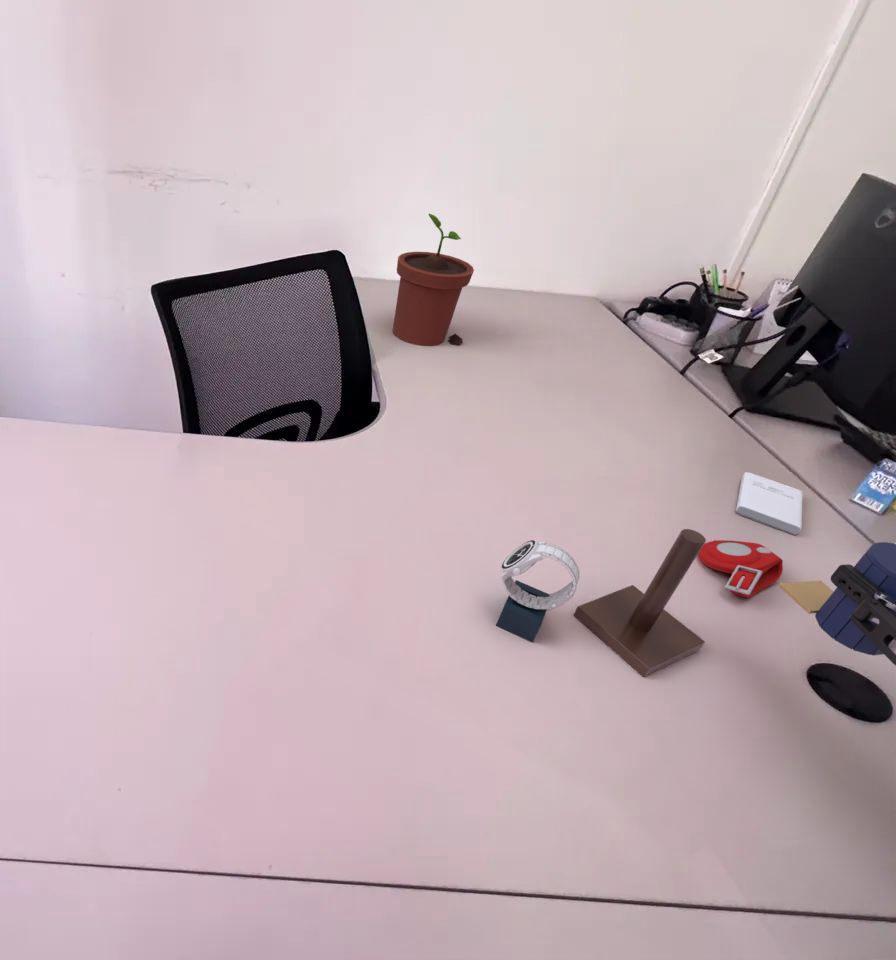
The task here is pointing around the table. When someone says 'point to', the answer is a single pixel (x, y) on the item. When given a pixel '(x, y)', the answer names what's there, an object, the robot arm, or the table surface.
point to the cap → (847, 598)
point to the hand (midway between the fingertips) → (866, 569)
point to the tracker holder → (743, 565)
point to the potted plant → (429, 294)
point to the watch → (532, 589)
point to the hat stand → (647, 614)
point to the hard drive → (770, 503)
